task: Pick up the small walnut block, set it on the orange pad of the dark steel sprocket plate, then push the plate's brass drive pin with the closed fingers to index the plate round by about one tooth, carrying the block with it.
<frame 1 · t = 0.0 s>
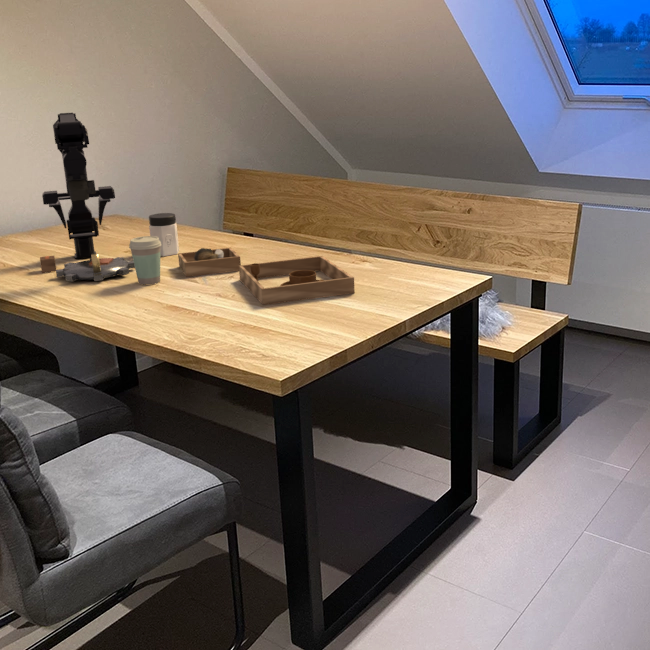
hand: (83, 226, 220), 15 cm above the table, tool pointing down, fingers open, 9 cm apart
sprocket: (95, 260, 227), point 4 cm above the table, hinge at 0.0°
link block: (49, 271, 235), on the table
place setting: (294, 289, 208), on the table
saucer tray frame: (295, 286, 208), on the table
open wooden box: (209, 268, 229), on the table
jar: (166, 253, 250), on the table
eagle figurine: (209, 269, 229), on the table
coffee cup: (149, 282, 218), on the table
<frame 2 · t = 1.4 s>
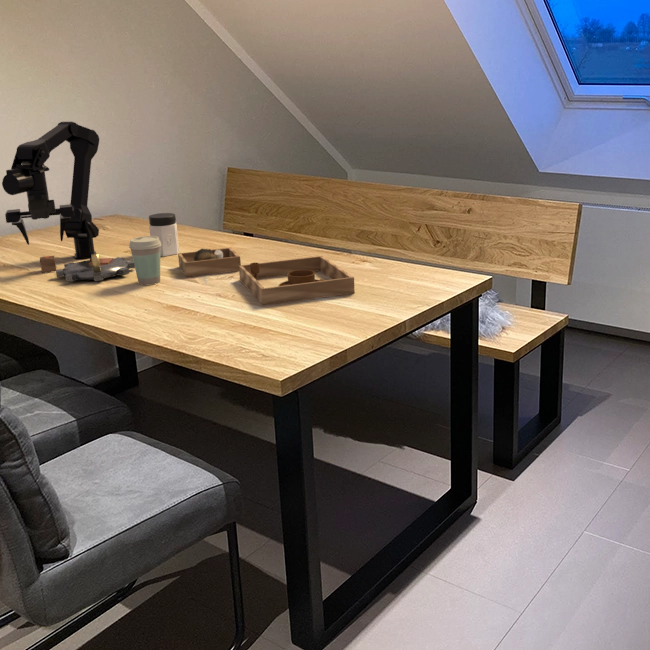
hand: (45, 242, 232), 8 cm above the table, tool pointing down, fingers open, 9 cm apart
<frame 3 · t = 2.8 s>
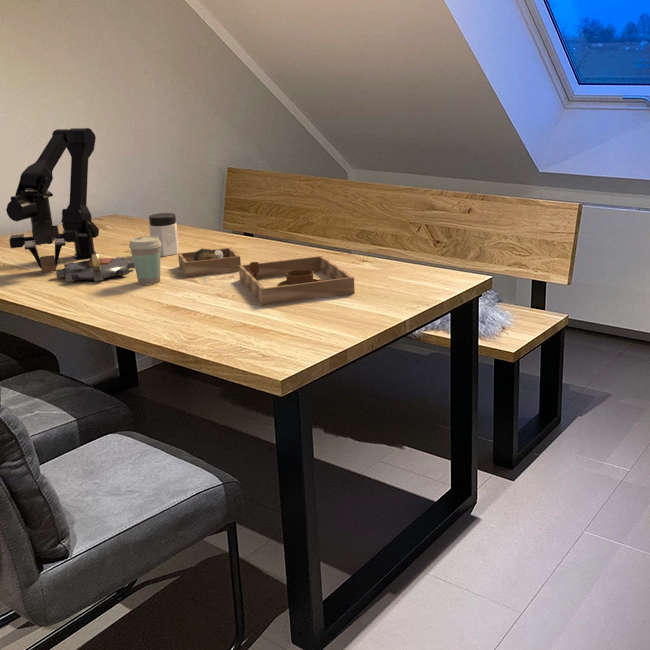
hand: (48, 267, 234), 1 cm above the table, tool pointing down, fingers closed on link block, 4 cm apart
link block: (49, 270, 234), on the table, touching gripper
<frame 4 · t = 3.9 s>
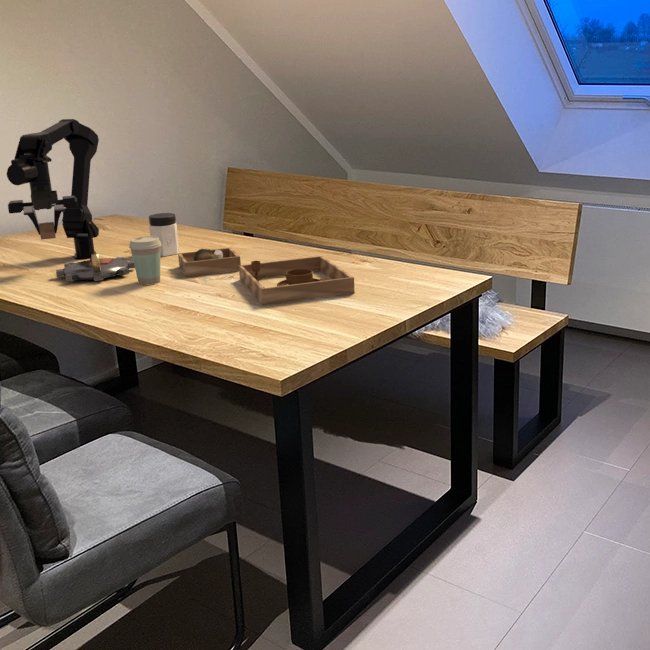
hand: (47, 233, 231), 11 cm above the table, tool pointing down, fingers closed on link block, 4 cm apart
link block: (48, 237, 231), point 10 cm above the table, touching gripper
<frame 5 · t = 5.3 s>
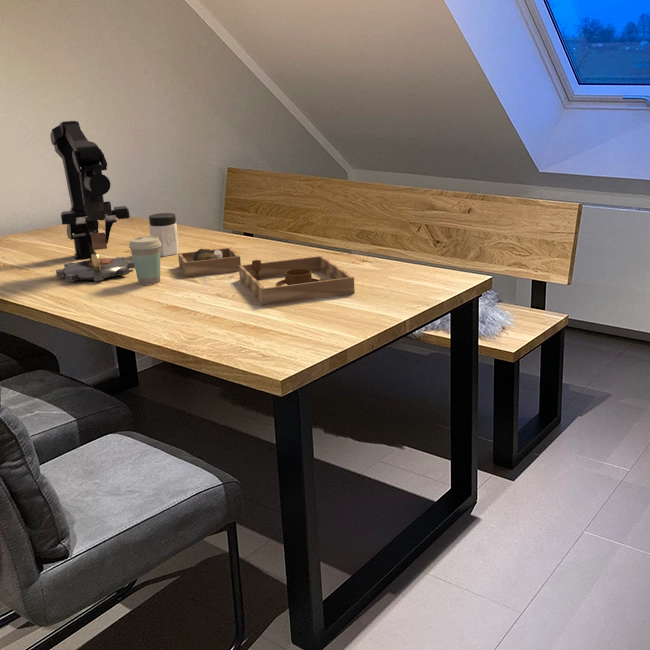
hand: (99, 244, 231), 7 cm above the table, tool pointing down, fingers closed on link block, 4 cm apart
link block: (99, 248, 231), point 6 cm above the table, touching gripper
when the fingers open (5 cm above the table, at t = 6.0 s): link block drops 1 cm, resting on sprocket.
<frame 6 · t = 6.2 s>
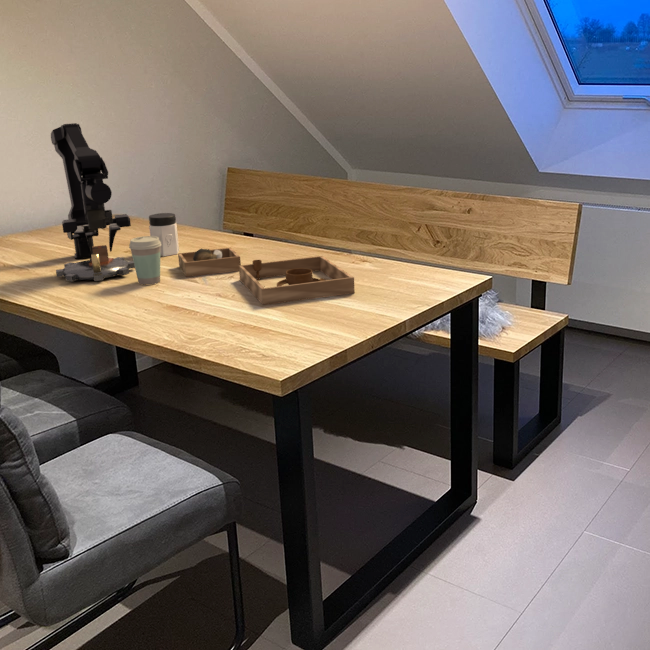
hand: (100, 252, 232), 5 cm above the table, tool pointing down, fingers open, 6 cm apart
sprocket: (95, 260, 227), point 4 cm above the table, hinge at 0.0°, touching link block
link block: (101, 260, 233), point 3 cm above the table, touching sprocket
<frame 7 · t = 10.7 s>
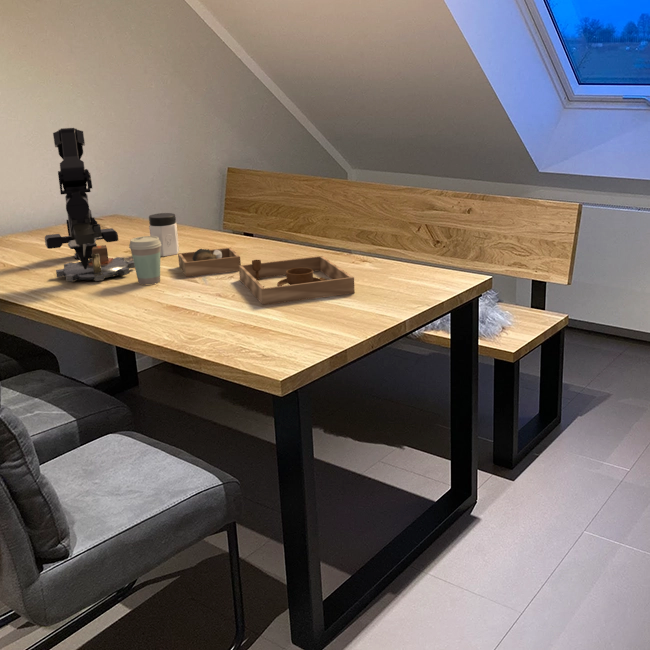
hand: (85, 268, 220), 4 cm above the table, tool pointing down, fingers closed
sprocket: (95, 260, 227), point 4 cm above the table, hinge at 1.0°, touching gripper, link block
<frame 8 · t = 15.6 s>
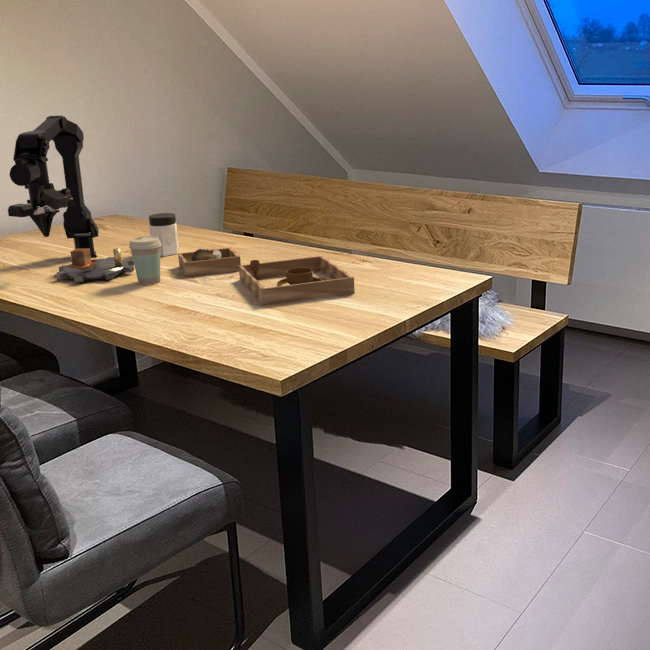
hand: (46, 236, 222), 12 cm above the table, tool pointing down, fingers closed
sprocket: (95, 260, 227), point 4 cm above the table, hinge at 61.5°, touching link block
link block: (81, 263, 230), point 3 cm above the table, touching sprocket
at the end: sprocket at +62° (first picture: +0°); link block 5.5 cm from the sprocket (horizontally); link block point 2.6 cm above the table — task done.
